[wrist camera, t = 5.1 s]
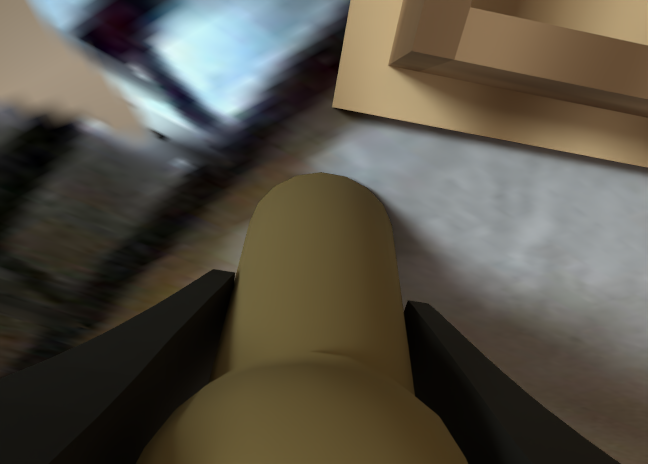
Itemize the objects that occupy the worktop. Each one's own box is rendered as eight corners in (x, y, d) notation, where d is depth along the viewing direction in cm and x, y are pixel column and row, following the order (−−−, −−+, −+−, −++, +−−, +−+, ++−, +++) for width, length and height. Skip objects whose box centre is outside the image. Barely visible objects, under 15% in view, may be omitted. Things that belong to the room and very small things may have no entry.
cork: (374, 152, 11) (783, 702, 1) (405, 284, 14) (621, 834, 4) (223, 197, 12) (-315, 745, 2) (277, 315, 14) (161, 828, 4)
